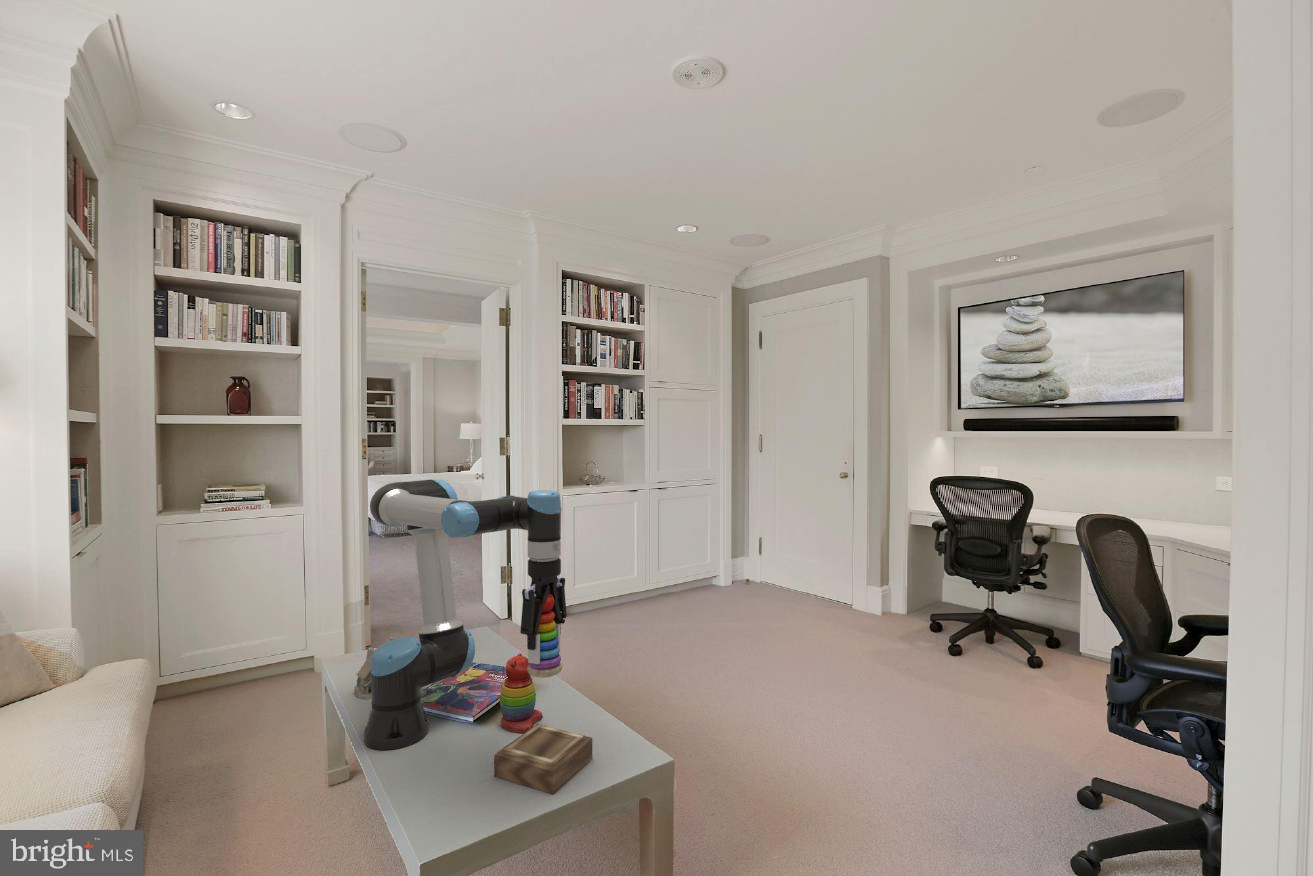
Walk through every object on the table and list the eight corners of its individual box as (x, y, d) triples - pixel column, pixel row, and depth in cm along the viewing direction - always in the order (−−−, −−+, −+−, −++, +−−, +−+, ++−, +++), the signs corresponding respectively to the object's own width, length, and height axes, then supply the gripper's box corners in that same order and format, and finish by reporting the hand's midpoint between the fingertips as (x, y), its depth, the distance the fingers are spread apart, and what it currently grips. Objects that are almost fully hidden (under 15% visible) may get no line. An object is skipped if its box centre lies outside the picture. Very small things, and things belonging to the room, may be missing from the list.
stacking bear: (528, 734, 159) (528, 665, 159) (492, 730, 161) (492, 662, 161) (544, 715, 170) (544, 650, 170) (510, 712, 172) (510, 648, 172)
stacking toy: (564, 665, 148) (563, 587, 147) (560, 679, 140) (559, 596, 139) (530, 665, 148) (530, 587, 147) (524, 679, 140) (524, 596, 139)
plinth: (494, 776, 140) (494, 750, 140) (537, 743, 155) (537, 720, 155) (553, 794, 133) (553, 767, 133) (592, 758, 148) (592, 734, 148)
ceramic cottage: (350, 688, 187) (353, 639, 186) (407, 678, 197) (410, 631, 196) (360, 711, 174) (363, 658, 174) (420, 698, 184) (423, 649, 183)
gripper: (530, 568, 132) (530, 675, 133) (581, 551, 151) (582, 645, 151) (502, 565, 136) (503, 669, 136) (556, 549, 154) (556, 641, 154)
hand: (544, 656), depth 144 cm, fingers closed on stacking toy, 7 cm apart
